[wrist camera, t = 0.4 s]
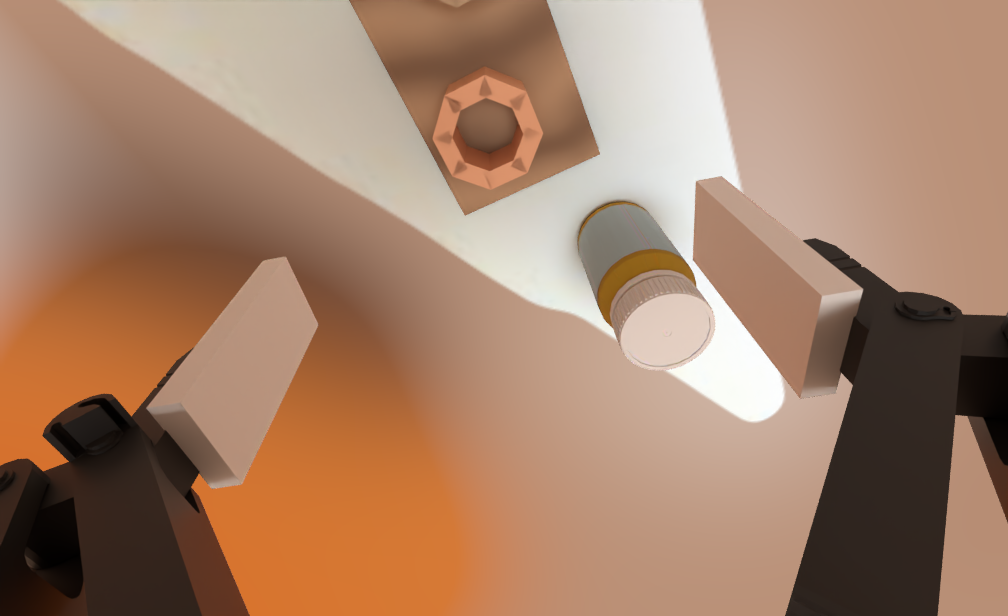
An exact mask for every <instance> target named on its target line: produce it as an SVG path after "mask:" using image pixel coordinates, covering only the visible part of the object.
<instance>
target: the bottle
mask: <svg viewBox="0 0 1008 616" xmlns="http://www.w3.org/2000/svg"><path fill="white" fill-rule="evenodd" d="M578 250H579V254H580V257H581V260H582V263H583V266H584V268H585V271H586V274H587V277H588V279H589V282H590V285H591V288H592V290H593V293H594V296H595V299H596V301H597V304H598V307H599V309H600V311H601V313H602V315H603V318H604V319H605V321H606V322H607V323H608V324H609V325H610V326H611V327H612V328H613V329H614V332H615V335H616V337H617V340H618V343H619V345H620V348H621V350H622V351H623V353H624V355H625V356H626V357H627V358H628V359H629V360H630V361H631V362H632V363H634V364H635V365H637V366H639V367H642V368H645V369H650V370H668V369H673V368H676V367H679V366H682V365H684V364H686V363H688V362H690V361H692V360H693V359H695V358H696V357H697V356H699V355H700V354H701V353H702V352H703V351H704V350H705V349H706V347H707V346H708V345H709V343H710V341H711V339H712V337H713V335H714V331H715V318H714V314H713V311H712V308H711V307H710V305H709V304H708V302H707V301H706V300H705V298H704V297H703V296H702V294H701V293H700V291H699V290H698V289H697V288H696V281H695V277H694V274H693V272H692V270H691V269H690V267H689V265H688V264H687V263H686V261H685V260H684V259H683V257H682V256H681V255H680V253H679V252H678V251H677V249H676V248H675V247H674V245H673V244H672V243H671V241H670V240H669V239H668V237H667V236H666V235H665V233H664V232H663V231H662V229H661V228H660V227H659V225H658V224H657V223H656V221H655V220H654V219H653V218H652V216H651V215H650V214H649V213H648V212H647V211H646V210H645V209H644V208H642V207H640V206H638V205H636V204H633V203H627V202H617V203H611V204H608V205H606V206H603V207H601V208H599V209H598V210H596V211H595V212H594V213H592V214H591V215H590V216H589V217H588V218H587V219H586V221H585V222H584V224H583V225H582V227H581V229H580V233H579V236H578Z"/></svg>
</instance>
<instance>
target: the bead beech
mask: <svg viewBox="0 0 1008 616" xmlns="http://www.w3.org/2000/svg"><path fill="white" fill-rule="evenodd" d="M440 1H442V2H444V3H447V4H449V5H451V6H454V7H456V8H457V7H459V6H461V5H463V4H465V3H467V2H469V1H470V0H440Z"/></svg>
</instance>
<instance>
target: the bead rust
mask: <svg viewBox="0 0 1008 616" xmlns="http://www.w3.org/2000/svg"><path fill="white" fill-rule="evenodd" d="M484 98H488V99H490V100H493V101H496V102H498V103H501V104H503V105H506V106H508V107H511V108H513V111H514V113H515V116H516V118H517V120H518V126H517V128H516V131H515V134H514V136H513V139H512V142H511V144H509V145H507V146H505V147H503V148H501V149H499V150H496V151H494V152H492V153H490V154H488V153H485V152H483V151H480V150H477V149H474V148H471V147H469V146H467V145H466V143H465V141H464V139H463V137H462V135H461V133H460V131H459V129H458V127H457V125H456V123H457V120H458V117H459V114H460V110H462V109H464V108H466V107H468V106H470V105H472V104H474V103H476V102H478V101H480V100H482V99H484ZM542 135H543V131H542V129H541V127H540V124H539V122H538V119H537V117H536V114H535V112H534V109H533V107H532V104H531V102H530V99H529V97H528V94H527V92H526V89H525V87H524V85H523V82H522V81H520V80H517V79H515V78H512V77H510V76H507V75H505V74H502V73H500V72H497V71H495V70H492V69H490V68H487V67H485V66H484V67H482V68H480V69H478V70H476V71H475V72H473V73H471V74H469V75H467V76H465V77H463V78H461V79H459V80H457V81H455V82H453V83H451V84H449V86H448V88H447V91H446V93H445V96H444V99H443V103H442V106H441V110H440V113H439V117H438V120H437V124H436V127H435V131H434V134H433V138H432V139H433V141H434V143H435V145H436V147H437V148H438V150H439V152H440V154H441V156H442V158H443V160H444V162H445V164H446V166H447V167H448V169H449V171H450V173H451V175H452V177H455V178H458V179H461V180H464V181H467V182H469V183H472V184H475V185H478V186H481V187H484V188H487V189H490V190H492V189H494V188H496V187H498V186H500V185H502V184H505V183H507V182H509V181H511V180H513V179H515V178H518V177H520V176H522V175H524V174H526V173H528V170H529V168H530V165H531V163H532V160H533V158H534V155H535V153H536V150H537V148H538V145H539V143H540V140H541V138H542Z"/></svg>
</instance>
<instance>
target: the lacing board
mask: <svg viewBox="0 0 1008 616" xmlns="http://www.w3.org/2000/svg"><path fill="white" fill-rule="evenodd" d="M349 1H350V3H351V4H352V6H353V8H354V10H355V12H356V14H357V16H358V17H359V19H360V21H361V23H362V25H363V27H364V29H365V30H366V32H367V34H368V36H369V38H370V40H371V42H372V43H373V45H374V47H375V49H376V51H377V53H378V55H379V57H380V58H381V60H382V62H383V64H384V66H385V68H386V70H387V71H388V73H389V75H390V77H391V79H392V81H393V83H394V84H395V86H396V88H397V90H398V92H399V94H400V96H401V97H402V99H403V101H404V103H405V105H406V107H407V109H408V111H409V112H410V114H411V116H412V118H413V120H414V122H415V124H416V125H417V127H418V129H419V131H420V133H421V135H422V137H423V138H424V140H425V142H426V144H427V146H428V148H429V150H430V151H431V153H432V155H433V157H434V159H435V161H436V163H437V165H438V166H439V168H440V170H441V172H442V174H443V176H444V178H445V179H446V181H447V183H448V185H449V187H450V189H451V191H452V192H453V194H454V196H455V198H456V200H457V202H458V204H459V205H460V207H461V209H462V211H463V213H464V215H467V214H469V213H472V212H474V211H476V210H478V209H480V208H483V207H485V206H487V205H489V204H491V203H494V202H496V201H498V200H500V199H502V198H505V197H507V196H509V195H511V194H513V193H516V192H518V191H520V190H522V189H524V188H527V187H529V186H531V185H533V184H535V183H538V182H540V181H542V180H544V179H546V178H549V177H551V176H553V175H555V174H557V173H560V172H562V171H564V170H566V169H568V168H571V167H573V166H575V165H577V164H579V163H582V162H584V161H586V160H588V159H590V158H593V157H595V156H597V155H599V154H600V153H599V150H598V147H597V144H596V141H595V138H594V135H593V133H592V130H591V127H590V124H589V121H588V118H587V115H586V113H585V110H584V107H583V104H582V101H581V98H580V95H579V92H578V90H577V87H576V84H575V81H574V78H573V75H572V72H571V70H570V67H569V64H568V61H567V58H566V55H565V52H564V49H563V47H562V44H561V41H560V38H559V35H558V32H557V29H556V27H555V24H554V21H553V18H552V15H551V12H550V9H549V7H548V4H547V1H546V0H470V1H469V2H467V3H465V4H463V5H461V6H459V7H457V8H456V7H454V6H451V5H449V4H447V3H444V2H442V1H440V0H349ZM484 66H485V67H487V68H490V69H492V70H495V71H497V72H500V73H502V74H505V75H507V76H510V77H512V78H515V79H517V80H520V81H522V82H523V85H524V87H525V89H526V92H527V94H528V97H529V99H530V102H531V104H532V107H533V109H534V112H535V114H536V117H537V119H538V122H539V124H540V127H541V129H542V131H543V135H542V138H541V140H540V143H539V145H538V148H537V150H536V153H535V155H534V158H533V160H532V163H531V165H530V168H529V170H528V173H526V174H524V175H522V176H520V177H518V178H515V179H513V180H511V181H509V182H507V183H505V184H502V185H500V186H498V187H496V188H494V189H492V190H490V189H487V188H484V187H481V186H478V185H475V184H472V183H469V182H467V181H464V180H461V179H458V178H455V177H452V175H451V173H450V171H449V169H448V167H447V166H446V164H445V162H444V160H443V158H442V156H441V154H440V152H439V150H438V148H437V147H436V145H435V143H434V141H433V139H432V138H433V134H434V131H435V127H436V124H437V120H438V117H439V113H440V110H441V106H442V103H443V99H444V96H445V93H446V91H447V88H448V86H449V84H451V83H453V82H455V81H457V80H459V79H461V78H463V77H465V76H467V75H469V74H471V73H473V72H475V71H476V70H478V69H480V68H482V67H484ZM456 125H457V127H458V129H459V131H460V133H461V135H462V137H463V139H464V141H465V143H466V145H467V146H469V147H471V148H474V149H477V150H480V151H483V152H485V153H488V154H490V153H492V152H494V151H496V150H499V149H501V148H503V147H505V146H507V145H509V144H511V142H512V139H513V136H514V134H515V131H516V128H517V126H518V120H517V118H516V116H515V113H514V111H513V108H511V107H508V106H506V105H503V104H501V103H498V102H496V101H493V100H490V99H488V98H484V99H482V100H480V101H478V102H476V103H474V104H472V105H470V106H468V107H466V108H464V109H462V110H460V114H459V117H458V120H457V123H456Z"/></svg>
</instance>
